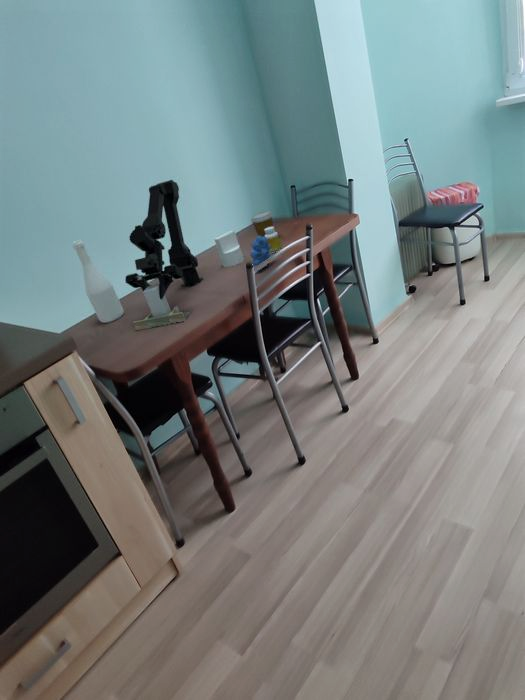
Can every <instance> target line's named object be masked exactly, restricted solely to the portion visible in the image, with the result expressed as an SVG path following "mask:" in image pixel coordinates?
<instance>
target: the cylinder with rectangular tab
mask: <svg viewBox="0 0 525 700" xmlns="http://www.w3.org/2000/svg"><path fill="white" fill-rule="evenodd" d="M238 241H239V240H238V237H237V235H236V231H235V230H230V231H227V232H226V233H224V234H222V235H220V236H217V237H216V238H214V243H215V245H216V248H217V251H218V255H219V258H220V261H221V264H222V267H223V268H225V267H228V268H232V266H233V267H236V266H238V265H237V264H239V263H241V262H242V263H244V261H245V258H244V255H243V252H242V249H241V245H240V244H239V242H238ZM243 260H244V261H243ZM242 263H241V264H242ZM235 265H236V266H235ZM239 265H240V264H239Z"/></svg>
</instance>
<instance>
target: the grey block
mask: <svg viewBox="0 0 525 700" xmlns="http://www.w3.org/2000/svg"><path fill="white" fill-rule="evenodd" d="M142 293H143V295H144V298H145V300H146V302H147V305H148V307H149V310H150V312H152V314H153V317H159V316H164V315H169V314H170V313H171V311H172V309H171V307H170V305H169V303H168V299H167V297H166V294H165V295H164V297H163V299H160V296H159V283H158V284H153V285H151V286H148V287H147V288H146V289H145V290H144V291H143V290H142Z"/></svg>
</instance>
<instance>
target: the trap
mask: <svg viewBox="0 0 525 700" xmlns="http://www.w3.org/2000/svg"><path fill="white" fill-rule="evenodd" d="M191 313H192V311H186V312H184V311H181V312H180V309H179V307H178V305H176V306H174V307H173V308H172V309H171V313H170V314H169V315H164V316H159V317H153V314H152V312H151V311H150V312H149V313H148V315H147V316H146V317H145V318H144V319H140V320H135V321H133V322H132V324H133V327H134V328H135V331H136V330H137V331H141V330H148V329H152V327H153V328H157V327H156V326H158V327H162V326H161V325H163V326H167V325H166V324H168V325H171V323H173V324H177V323H176V322H179V323H183V322H182V321H184V322H185V321H186V320H187V319H188V318H189V316H190V315H191Z"/></svg>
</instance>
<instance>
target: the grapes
mask: <svg viewBox="0 0 525 700" xmlns="http://www.w3.org/2000/svg"><path fill="white" fill-rule="evenodd" d="M267 241H268V240H267V238H266V237H264V236H263V237H261V236H258V235H257V236H256V238H255V240H253V242H252V243H251V248H252V250H251V251H250V255H249V256H250V257H251V258H252V265H253V266H254V267H255V266H257V265H259V264H260V263H262V262H263V261H265V260H266V259H268V258H269V257H270V256H271V257H272V254H271V253H269V250H270V248H271V246H270V244H269V243H267ZM268 266H269V264H268V265H267V266H266V267H265V268H267V267H268ZM262 270H263V269H261V270H260V271H262Z"/></svg>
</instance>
